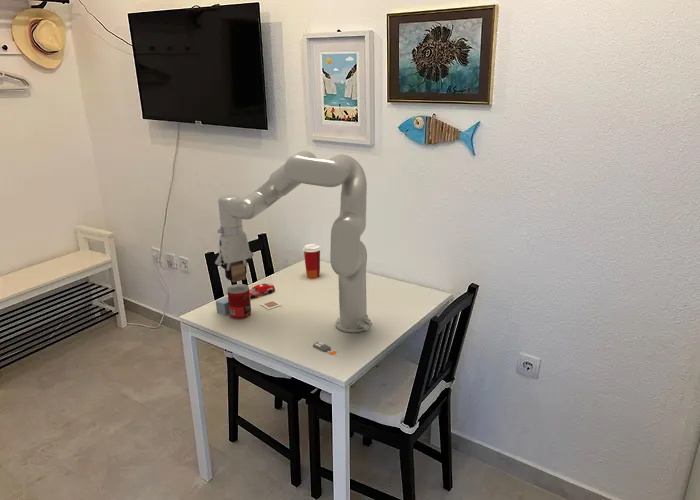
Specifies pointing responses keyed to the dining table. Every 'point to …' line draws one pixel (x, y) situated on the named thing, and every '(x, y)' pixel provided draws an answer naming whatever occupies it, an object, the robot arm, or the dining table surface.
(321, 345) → the key chain
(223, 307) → the slate block
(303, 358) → the dining table surface
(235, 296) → the canned food
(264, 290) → the race car
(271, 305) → the swatch
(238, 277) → the walnut block
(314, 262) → the paper cup
